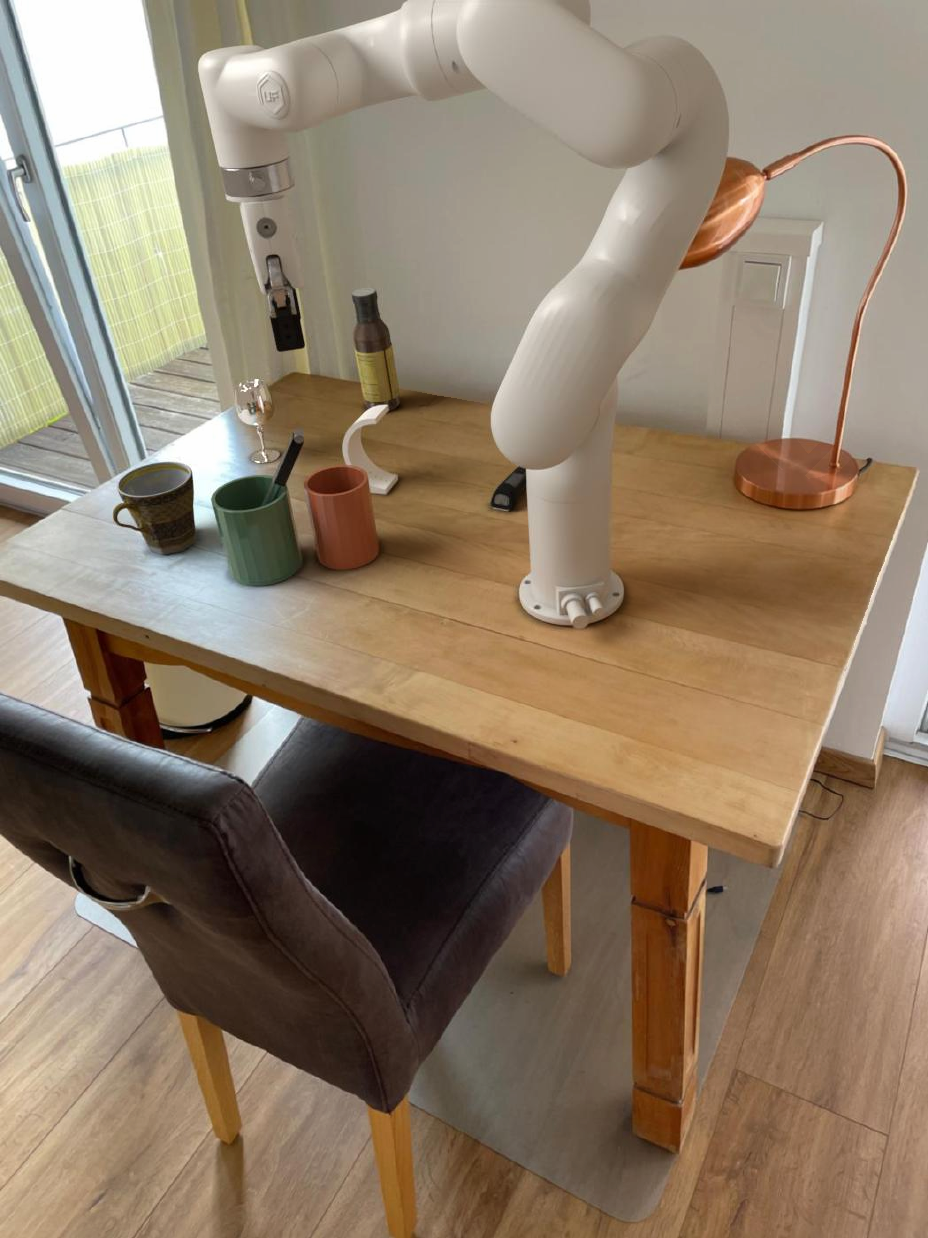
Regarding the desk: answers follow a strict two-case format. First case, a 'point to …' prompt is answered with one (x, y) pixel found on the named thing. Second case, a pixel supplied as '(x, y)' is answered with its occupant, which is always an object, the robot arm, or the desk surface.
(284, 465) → the tongs
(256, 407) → the wineglass
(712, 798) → the desk surface
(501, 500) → the electric trimmer
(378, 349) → the sauce bottle
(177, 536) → the ceramic cup
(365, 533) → the terracotta cup
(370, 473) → the headphone stand
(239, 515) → the green cup
